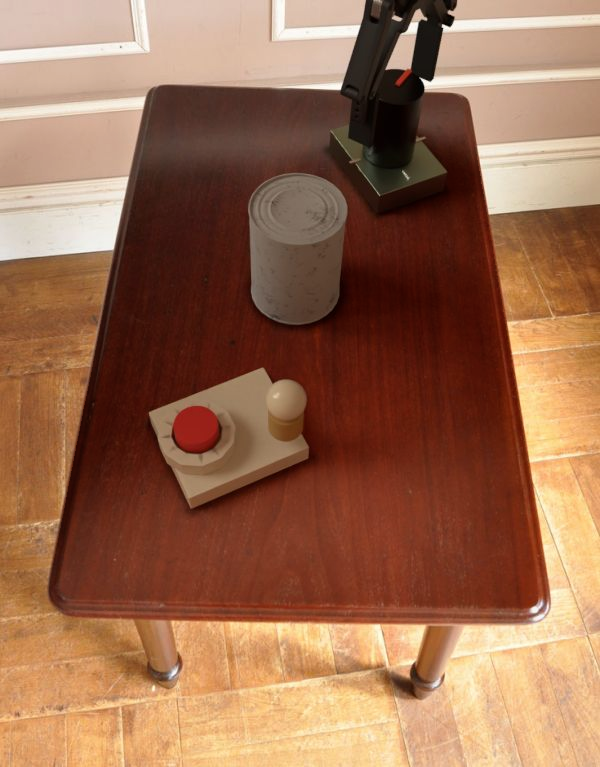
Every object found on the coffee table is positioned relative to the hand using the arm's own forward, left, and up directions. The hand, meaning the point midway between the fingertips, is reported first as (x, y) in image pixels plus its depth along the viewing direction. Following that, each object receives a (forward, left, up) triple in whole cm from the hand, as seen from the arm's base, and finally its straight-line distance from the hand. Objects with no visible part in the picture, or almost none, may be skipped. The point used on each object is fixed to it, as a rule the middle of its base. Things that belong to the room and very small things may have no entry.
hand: (392, 107), depth 95 cm
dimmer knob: (0, 0, -6) cm, 6 cm away
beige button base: (+26, -32, -9) cm, 42 cm away
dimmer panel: (0, 0, -9) cm, 9 cm away
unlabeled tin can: (+12, -18, -9) cm, 23 cm away
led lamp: (+29, -27, -5) cm, 40 cm away
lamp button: (+26, -35, -6) cm, 44 cm away
